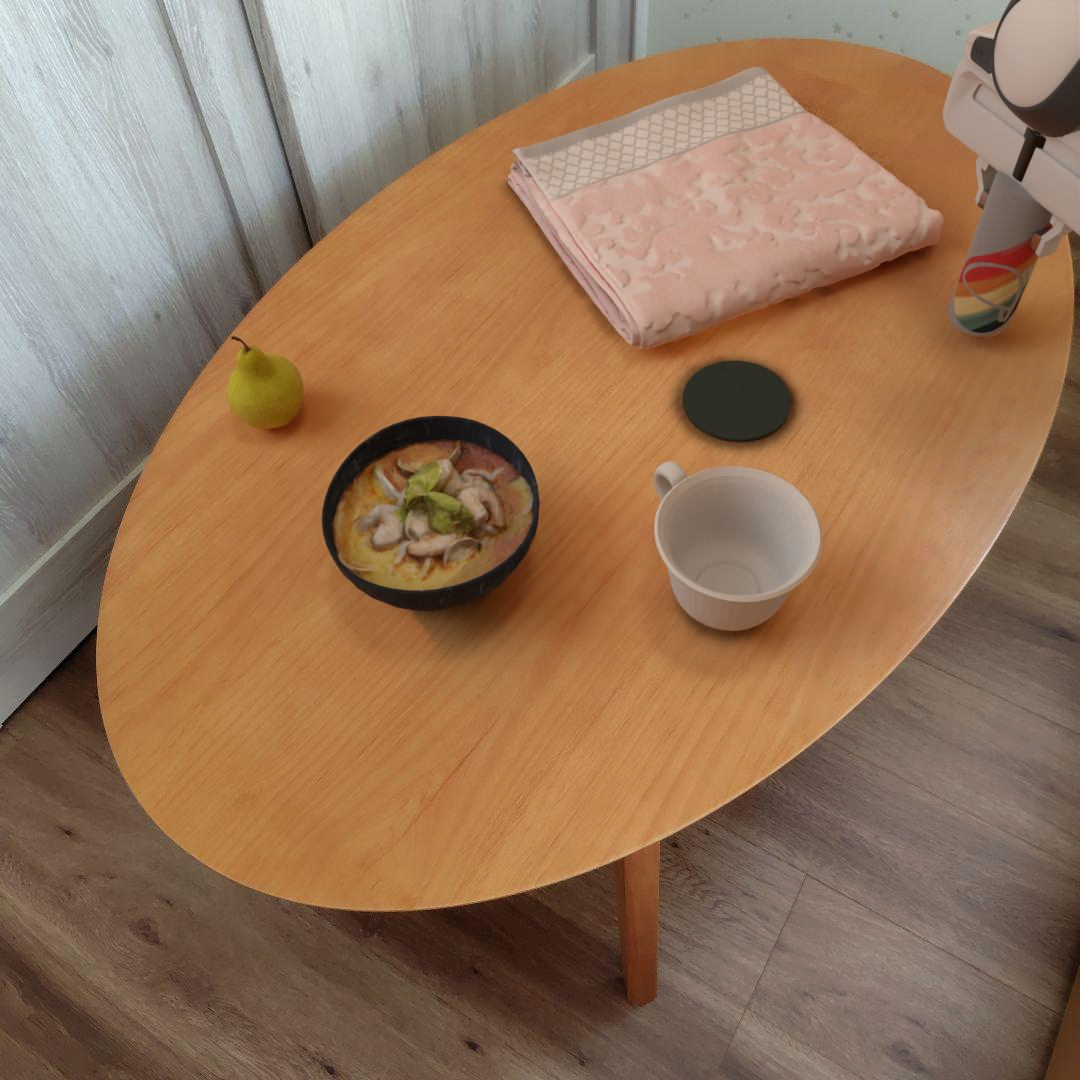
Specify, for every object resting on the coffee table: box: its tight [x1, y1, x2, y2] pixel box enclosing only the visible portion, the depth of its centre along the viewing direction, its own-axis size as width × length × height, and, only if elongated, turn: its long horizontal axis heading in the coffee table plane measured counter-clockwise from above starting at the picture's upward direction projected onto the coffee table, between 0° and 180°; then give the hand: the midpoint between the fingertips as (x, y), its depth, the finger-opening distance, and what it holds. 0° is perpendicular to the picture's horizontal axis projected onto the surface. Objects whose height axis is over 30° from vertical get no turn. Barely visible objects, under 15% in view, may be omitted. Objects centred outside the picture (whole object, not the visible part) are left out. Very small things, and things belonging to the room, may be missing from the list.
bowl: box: [321, 415, 541, 612], centre depth 76 cm, size 17×17×10 cm
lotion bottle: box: [947, 127, 1054, 338], centre depth 81 cm, size 6×6×20 cm
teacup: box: [653, 460, 824, 632], centre depth 73 cm, size 12×15×10 cm
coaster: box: [682, 360, 792, 443], centre depth 88 cm, size 10×10×1 cm
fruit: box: [226, 335, 304, 430], centre depth 86 cm, size 7×7×12 cm
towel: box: [507, 66, 945, 351], centre depth 101 cm, size 36×34×6 cm
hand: (1012, 228), depth 81 cm, fingers closed on lotion bottle, 6 cm apart
